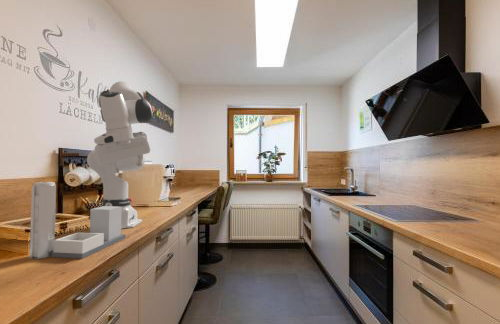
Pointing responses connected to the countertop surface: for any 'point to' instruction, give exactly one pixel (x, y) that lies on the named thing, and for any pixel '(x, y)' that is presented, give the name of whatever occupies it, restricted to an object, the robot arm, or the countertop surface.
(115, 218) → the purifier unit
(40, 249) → the white upright block
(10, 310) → the countertop surface
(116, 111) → the robot arm
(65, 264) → the countertop surface
